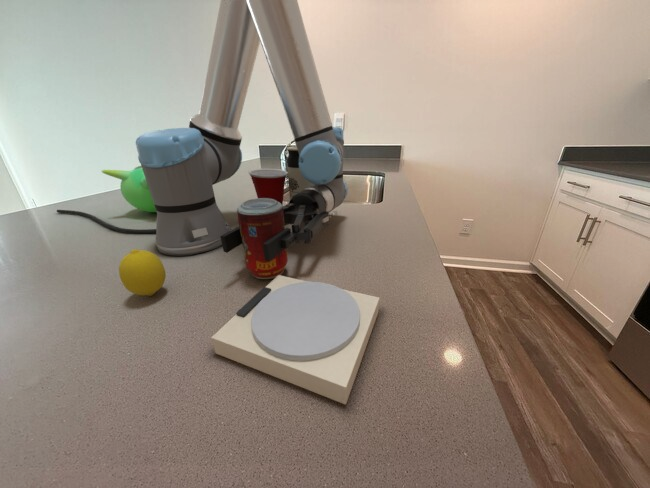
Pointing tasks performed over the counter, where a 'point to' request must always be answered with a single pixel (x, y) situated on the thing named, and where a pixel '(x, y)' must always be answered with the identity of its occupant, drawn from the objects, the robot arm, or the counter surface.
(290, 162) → the travel mug
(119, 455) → the counter surface
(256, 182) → the plastic cup
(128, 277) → the lemon
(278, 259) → the soda can
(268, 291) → the kitchen scale
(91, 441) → the counter surface
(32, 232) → the counter surface
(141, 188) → the toy bird
